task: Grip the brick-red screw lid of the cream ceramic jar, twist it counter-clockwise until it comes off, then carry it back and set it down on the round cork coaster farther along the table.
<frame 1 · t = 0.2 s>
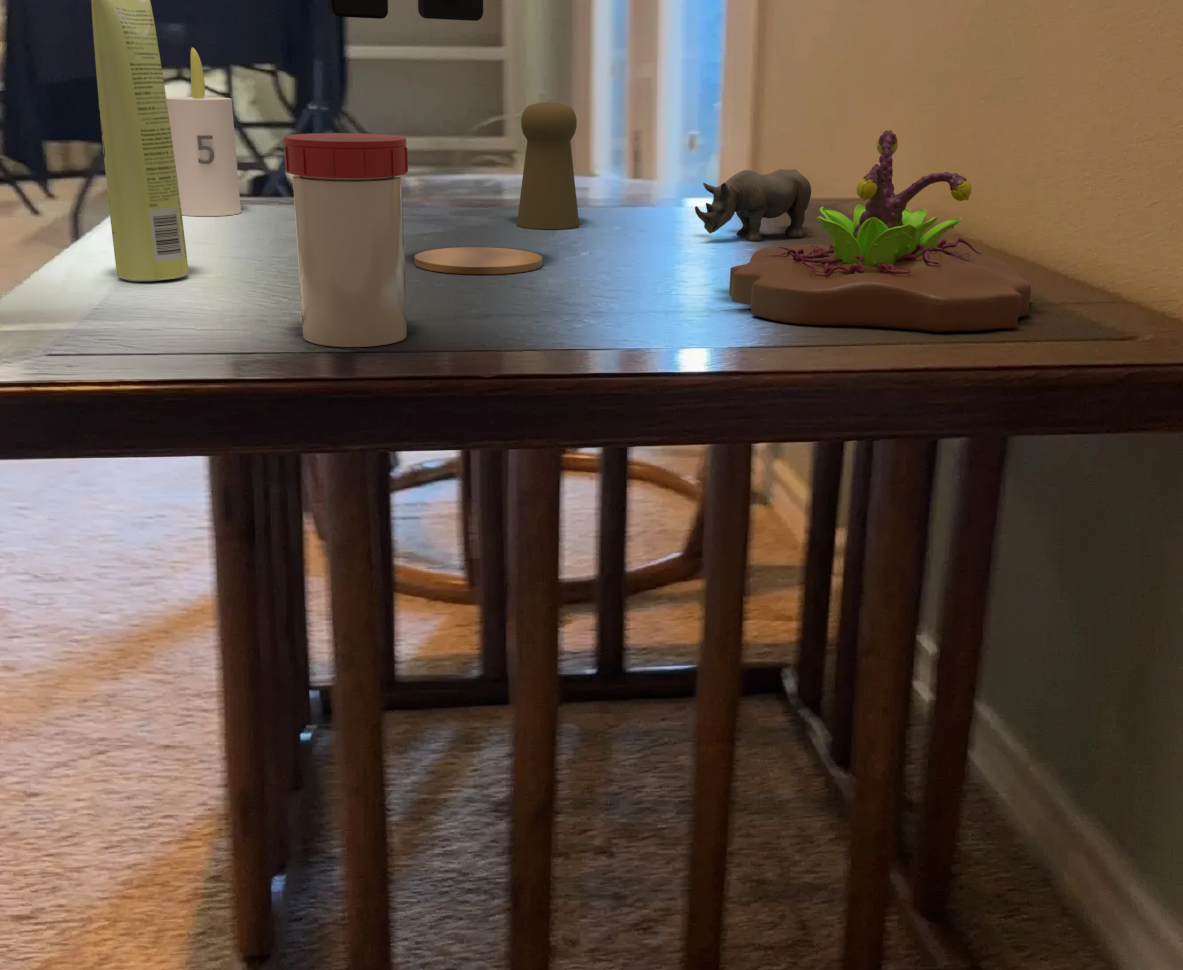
hand: (402, 18, 64), 17 cm above the table, tool pointing down, fingers open, 9 cm apart
coaster: (478, 264, 101), on the table
jar: (355, 336, 76), on the table
candle: (208, 214, 127), on the table
pepper shaker: (548, 227, 124), on the table
lid: (345, 143, 71), point 11 cm above the table, screwed on, not yet turned
rhino figurine: (749, 240, 119), on the table
tube: (155, 279, 93), on the table
plant: (874, 305, 90), on the table
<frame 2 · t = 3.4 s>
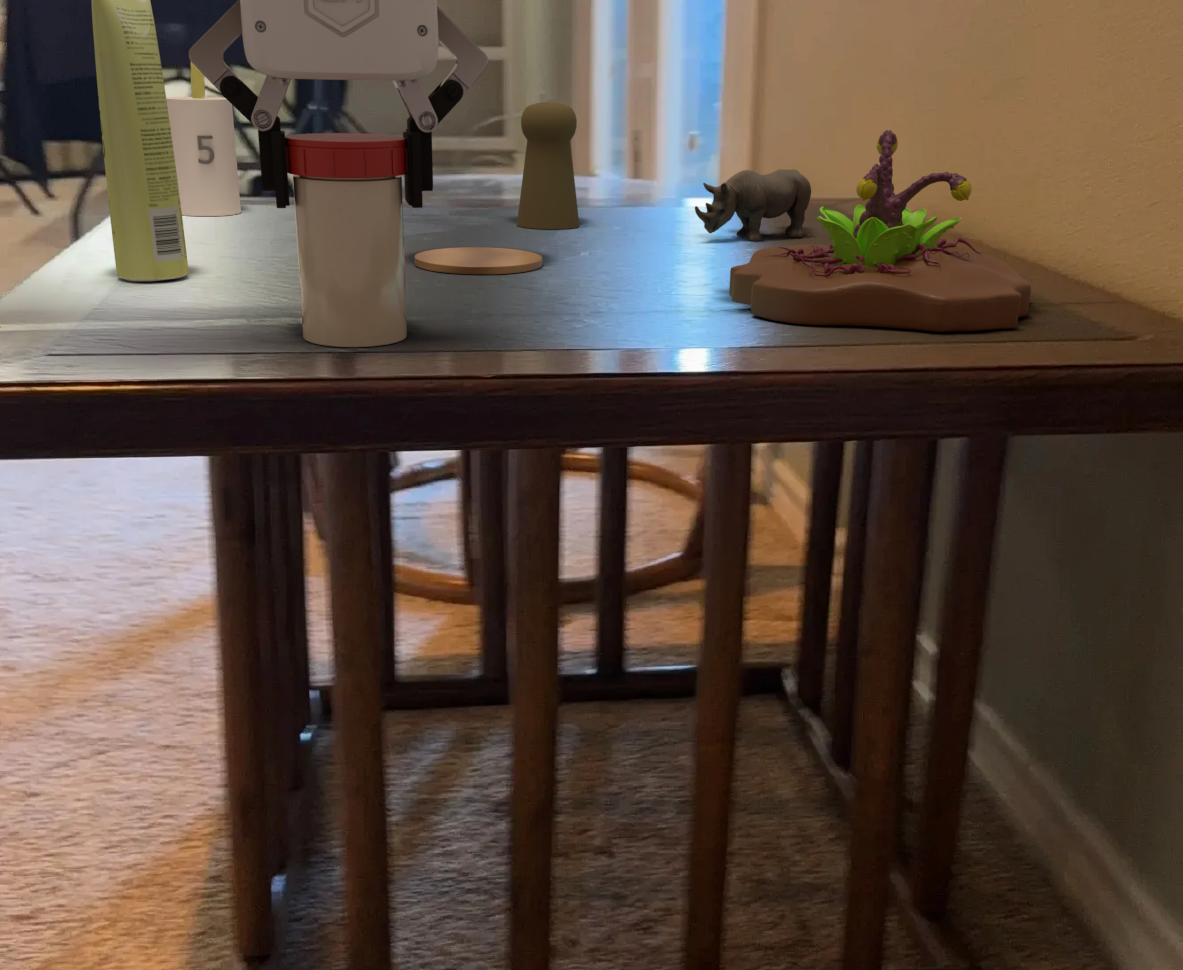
hand: (349, 202, 73), 8 cm above the table, tool pointing down, fingers closed on lid, 6 cm apart
lid: (346, 143, 71), point 11 cm above the table, screwed on, not yet turned, touching gripper
everything else where it was.
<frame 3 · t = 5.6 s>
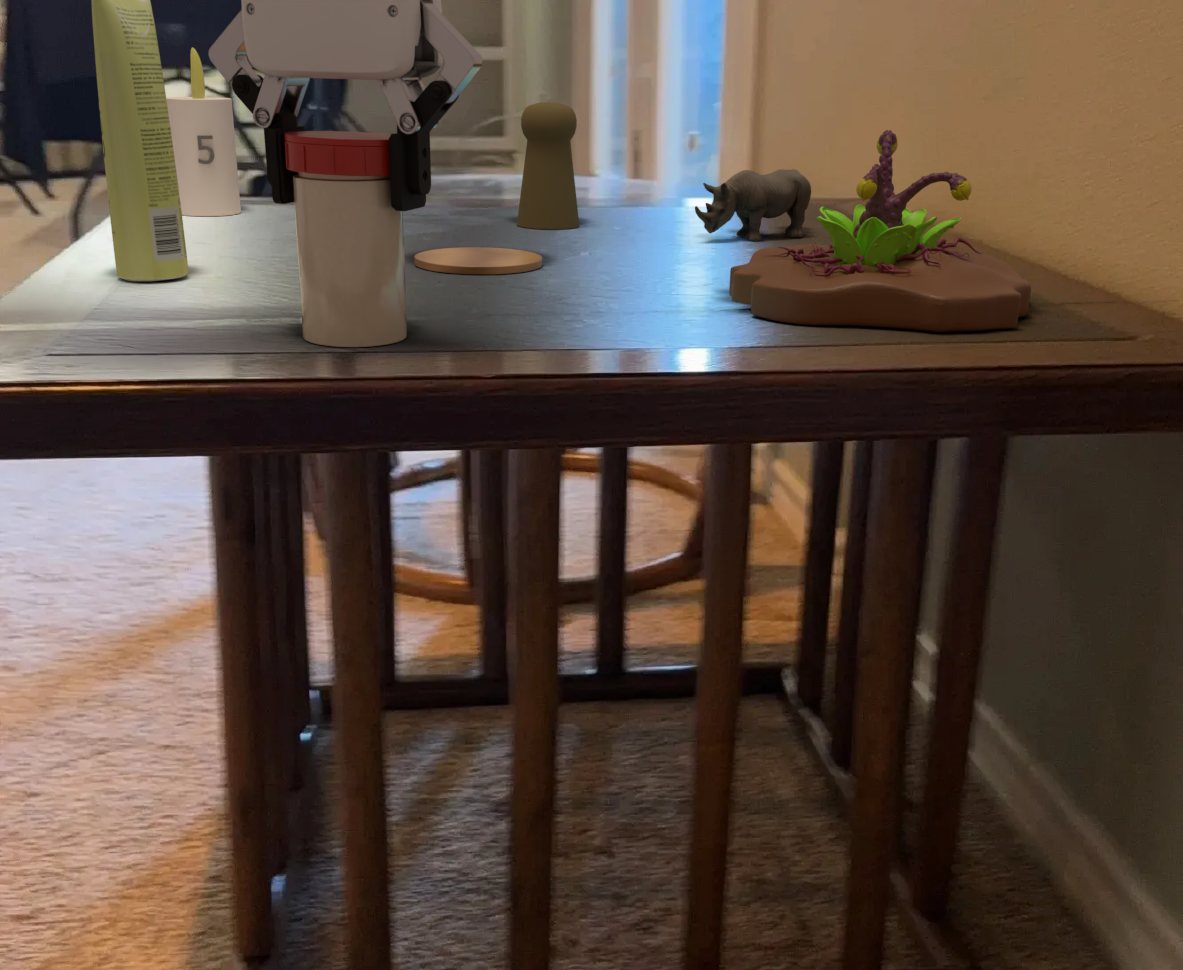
hand: (349, 202, 73), 8 cm above the table, tool pointing down, fingers closed on lid, 6 cm apart
lid: (346, 141, 71), point 11 cm above the table, off its thread, touching gripper
everything else where it was.
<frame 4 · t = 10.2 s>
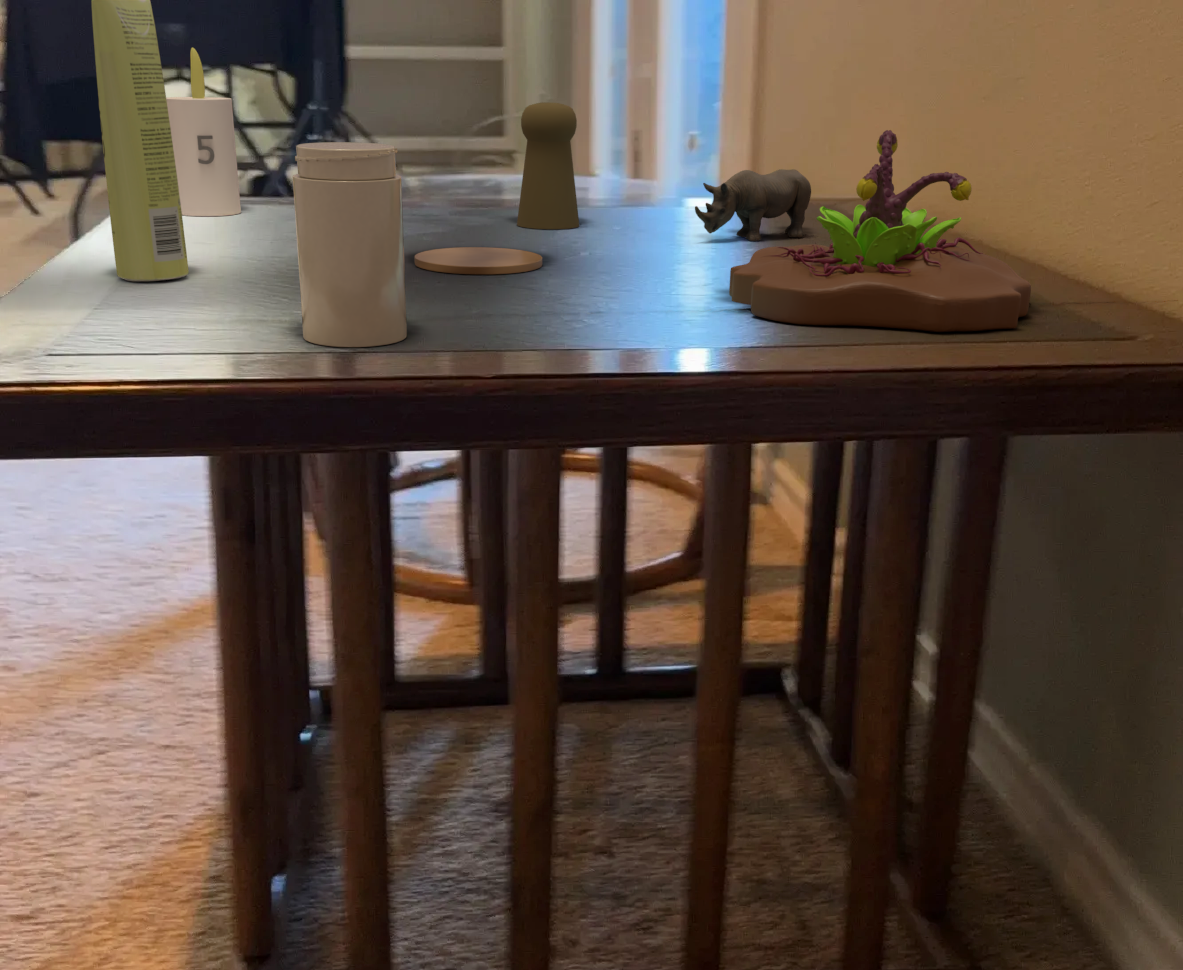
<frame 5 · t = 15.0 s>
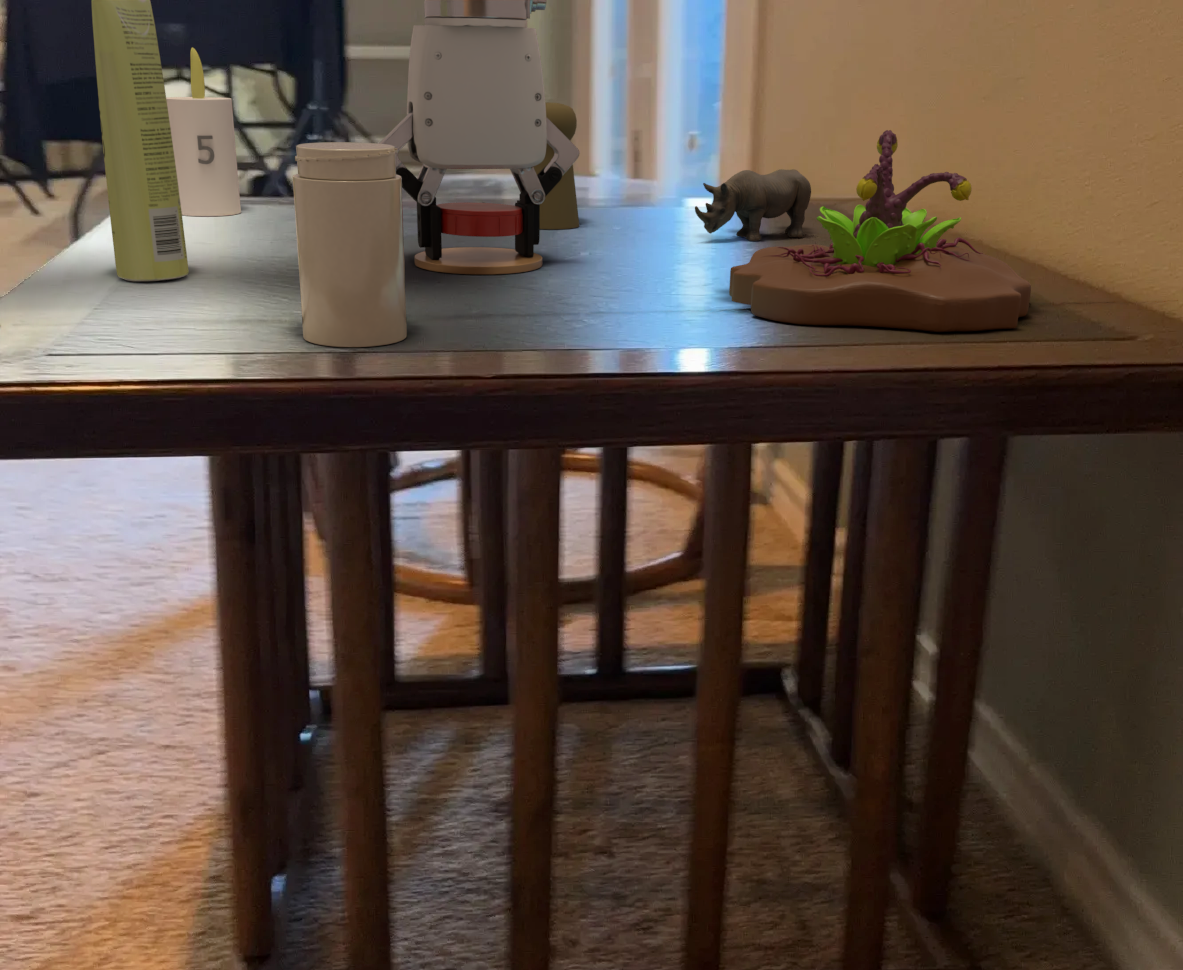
hand: (479, 254, 101), 1 cm above the table, tool pointing down, fingers closed on lid, 6 cm apart
lid: (478, 211, 100), point 4 cm above the table, off its thread, touching gripper
everything else where it was.
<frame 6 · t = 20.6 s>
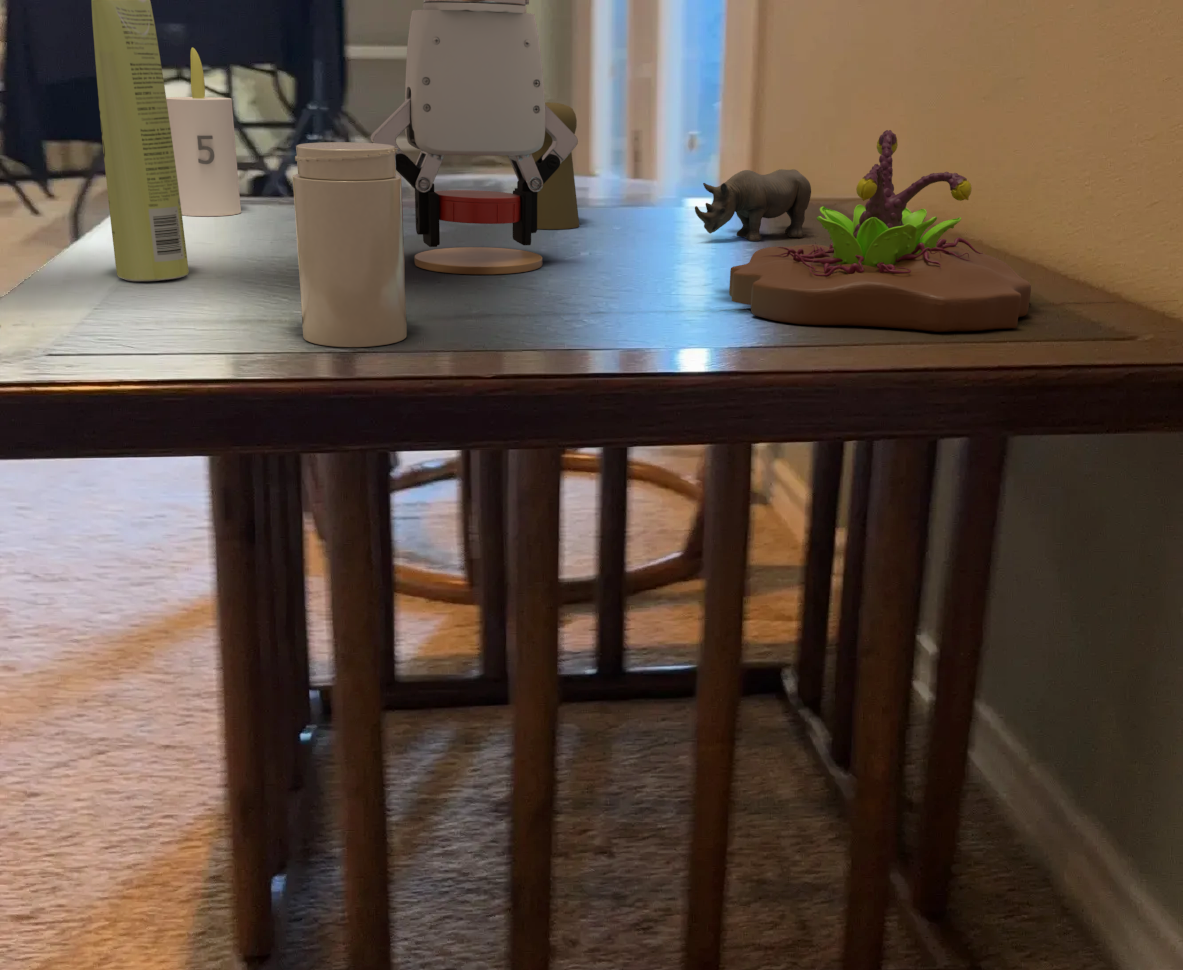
hand: (476, 241, 100), 2 cm above the table, tool pointing down, fingers closed on lid, 6 cm apart
lid: (476, 198, 99), point 5 cm above the table, off its thread, touching gripper
everything else where it was.
when the fingers open (2 cm above the table, at t = 25.9 s): lid drops 3 cm, resting on coaster.
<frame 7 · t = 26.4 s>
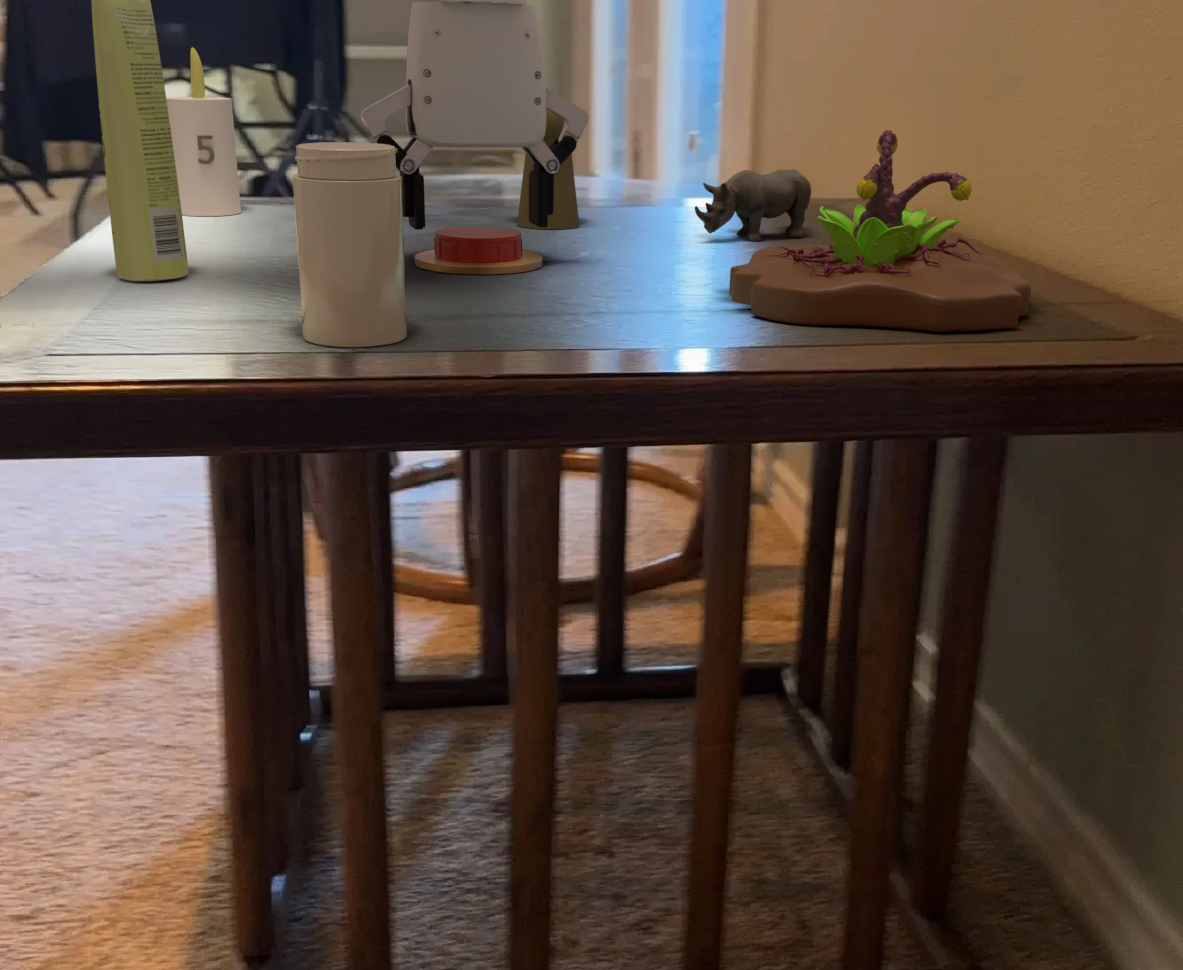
hand: (478, 226, 100), 3 cm above the table, tool pointing down, fingers open, 9 cm apart
lid: (478, 236, 100), point 2 cm above the table, off its thread, touching coaster
everything else where it was.
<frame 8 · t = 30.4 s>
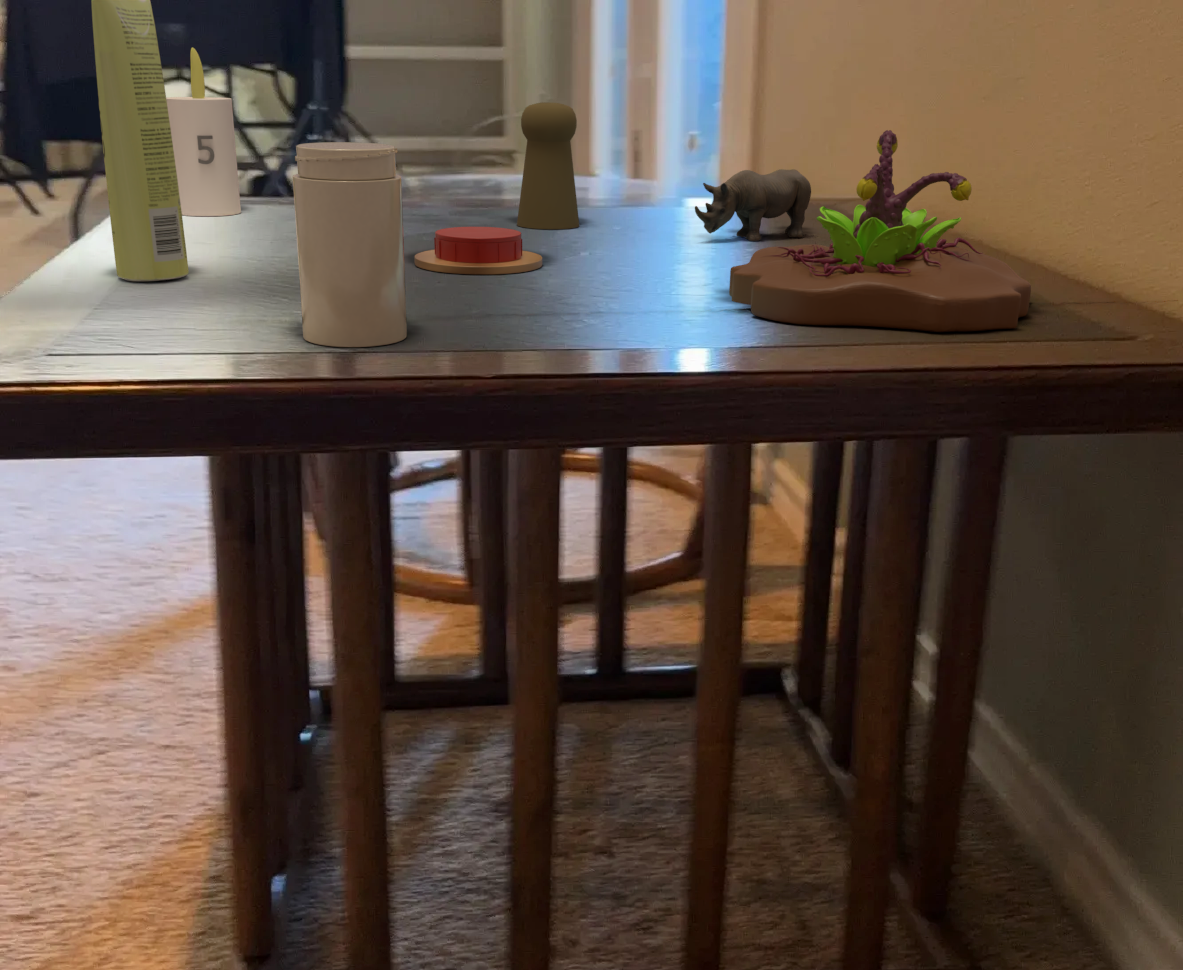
nothing on the table moved.
at the end: lid came off its thread; the gripper is holding nothing; lid inside the target area on the coaster (0.1 cm from its centre), point 2.1 cm above the coaster's base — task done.
